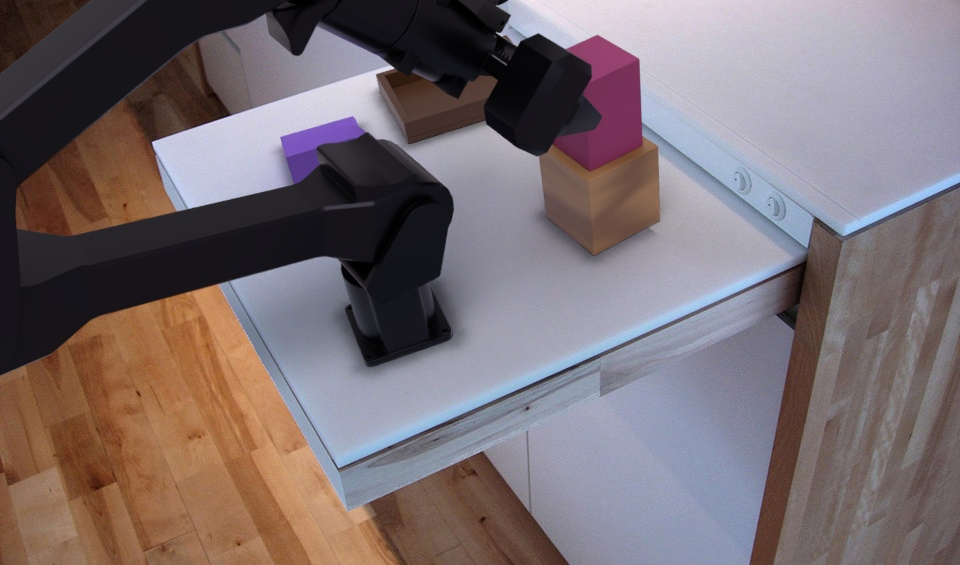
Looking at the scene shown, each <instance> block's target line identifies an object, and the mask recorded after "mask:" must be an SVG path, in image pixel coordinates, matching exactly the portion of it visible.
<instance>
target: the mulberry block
mask: <svg viewBox="0 0 960 565" xmlns="http://www.w3.org/2000/svg"><path fill="white" fill-rule="evenodd" d="M565 49H566V50H568V51H570V52H571V53H573V54H574V55H576V56H578V57H579V58H581V59H583V60H584V61H586V62H588V63H589V64H591V65H592V78H591V80H590V82H589V83H588V85H587V87H586V88H585V90H584V92H583V93H582V94H583V95H584V96H585V97H586V98H587V99H588V100H589V102H590V103H591V104H592V105H593V106H594V107H595V108H596V109H597V110H598V111H599V113H600V114H601V115H602V119H601V121H600V122H599V124H598V126H597V127H596V129H595V130H592V131H587V132H582V133H577V134H572V135H567V136H563V137H558V138H556V139H555V141H554V142H553V145H554V146H556V147H557V148H559V149H560V150H561V151H563V152H564V153H565V154H567V155H568V156H569V157H571V158H572V159H574V160H575V161H576V162H578V163H579V164H580V165H582V166H583V167H584V168H586V169H587V170H589V171H593V170H595V169H597V168H599V167H601V166H603V165H605V164H607V163H609V162H611V161H613V160H615V159H617V158H619V157H621V156H623V155H624V154H626V153H628V152H630V151H632V150H634V149H636V148H638V147H640V146H642V145H643V139H642V136H643V118H642V90H641V89H642V88H641V87H642V86H641V64H640V61H641V60H640V58H639V57H638V56H635V55H634V54H632V53H631V52H629V51H627V50H625V49H624V48H621V46H618V45H616V44H615V43H613V42H611V41H609V40H607V39H606V38H604V37H602V36H601V35H599V34H596V35H594V36H591V37H589V38H587V39H584V40H583V41H580V42H578V43H576V44H573V45H571V46H569V47H566V48H565Z"/></svg>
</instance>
